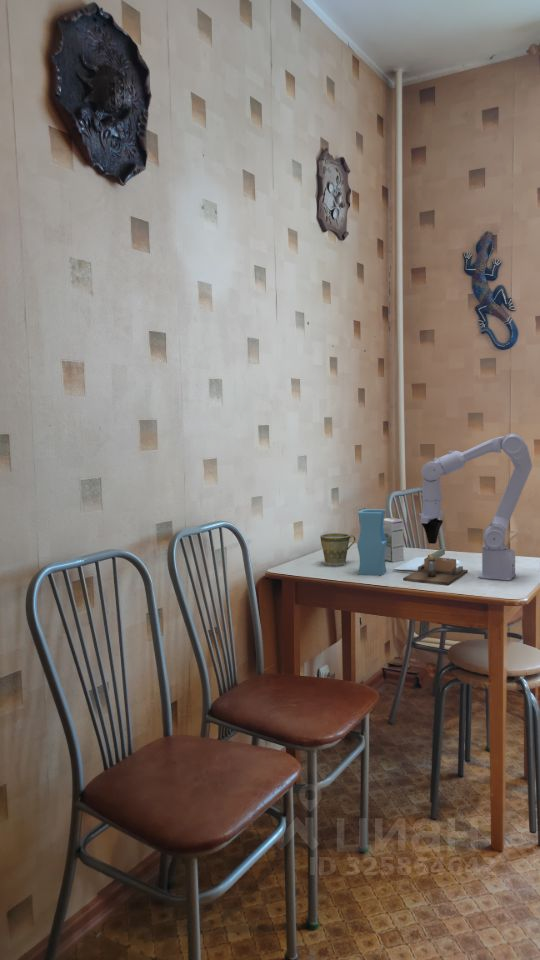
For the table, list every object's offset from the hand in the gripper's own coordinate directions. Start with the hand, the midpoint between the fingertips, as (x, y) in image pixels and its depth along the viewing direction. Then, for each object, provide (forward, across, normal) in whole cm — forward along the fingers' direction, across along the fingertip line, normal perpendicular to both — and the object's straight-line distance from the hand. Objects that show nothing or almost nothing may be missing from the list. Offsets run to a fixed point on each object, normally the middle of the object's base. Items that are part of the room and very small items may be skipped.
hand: (432, 543), depth 223 cm
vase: (+10, +5, -18) cm, 21 cm away
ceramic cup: (+10, -3, -34) cm, 36 cm away
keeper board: (+10, +2, +2) cm, 10 cm away
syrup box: (+10, -16, -20) cm, 27 cm away
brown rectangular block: (+9, -2, +2) cm, 9 cm away
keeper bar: (+4, +2, +2) cm, 5 cm away
